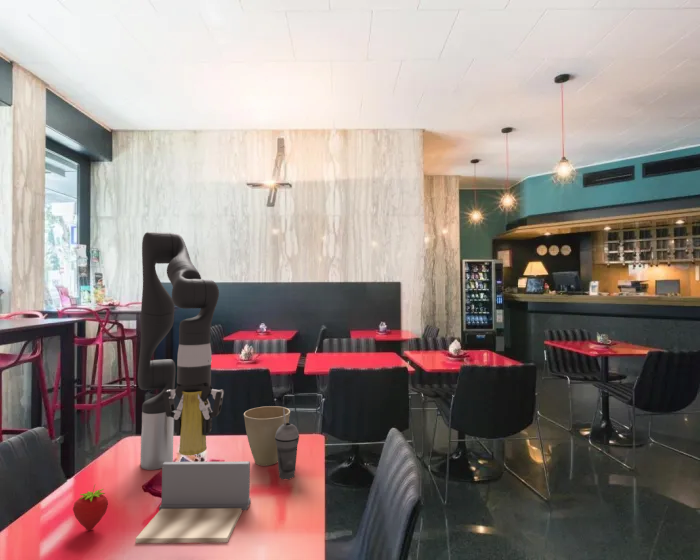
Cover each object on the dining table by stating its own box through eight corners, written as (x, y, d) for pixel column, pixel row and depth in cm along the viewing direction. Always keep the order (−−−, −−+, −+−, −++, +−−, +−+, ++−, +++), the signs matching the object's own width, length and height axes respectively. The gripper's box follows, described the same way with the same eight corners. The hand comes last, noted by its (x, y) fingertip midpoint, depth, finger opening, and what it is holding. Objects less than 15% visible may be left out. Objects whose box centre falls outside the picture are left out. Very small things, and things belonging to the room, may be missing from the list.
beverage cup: (294, 482, 114) (294, 413, 115) (270, 480, 116) (271, 411, 117) (302, 472, 122) (302, 406, 122) (279, 469, 123) (280, 404, 124)
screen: (159, 510, 100) (160, 466, 100) (166, 502, 104) (167, 459, 104) (246, 510, 100) (247, 465, 100) (250, 502, 104) (250, 459, 104)
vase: (212, 448, 95) (213, 388, 96) (192, 457, 89) (193, 393, 90) (193, 444, 98) (194, 385, 98) (172, 453, 92) (174, 391, 93)
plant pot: (299, 458, 132) (299, 409, 132) (267, 475, 119) (267, 421, 120) (266, 449, 140) (266, 403, 140) (233, 464, 127) (233, 414, 128)
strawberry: (86, 521, 95) (87, 478, 95) (114, 523, 94) (115, 480, 94) (64, 535, 89) (66, 490, 90) (94, 538, 88) (95, 493, 88)
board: (135, 543, 87) (135, 538, 87) (160, 512, 99) (161, 508, 99) (227, 542, 87) (227, 537, 87) (241, 512, 99) (241, 508, 99)
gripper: (156, 365, 90) (155, 440, 90) (219, 365, 91) (218, 440, 90) (171, 360, 98) (169, 429, 97) (229, 360, 98) (228, 429, 97)
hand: (193, 434), depth 94 cm, fingers closed on vase, 5 cm apart
